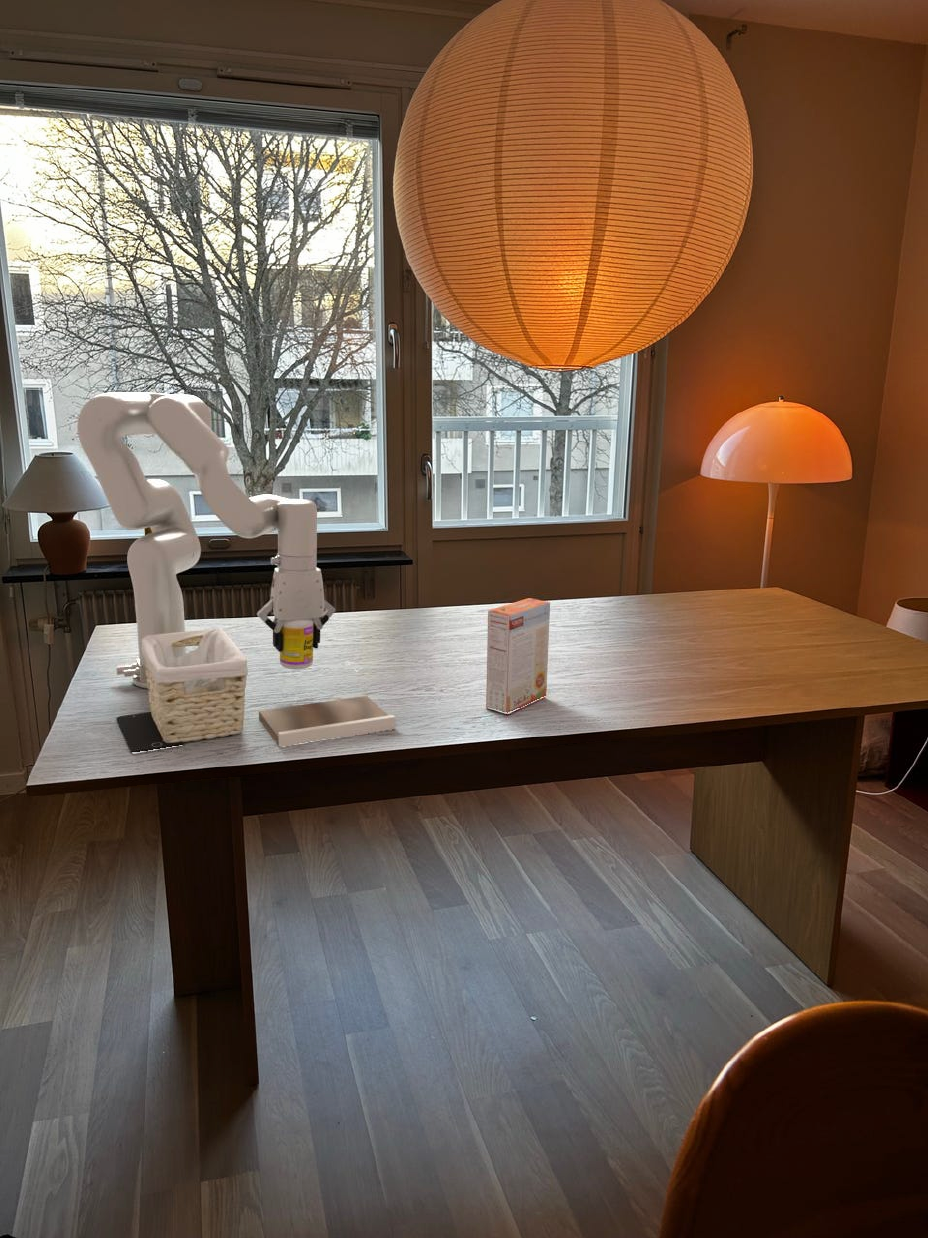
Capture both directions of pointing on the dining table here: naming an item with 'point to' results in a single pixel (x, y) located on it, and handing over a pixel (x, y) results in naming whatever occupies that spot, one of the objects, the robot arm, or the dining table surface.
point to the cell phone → (142, 732)
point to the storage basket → (195, 685)
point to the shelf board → (319, 714)
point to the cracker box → (517, 654)
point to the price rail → (337, 730)
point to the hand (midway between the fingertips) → (296, 647)
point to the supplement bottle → (297, 644)
